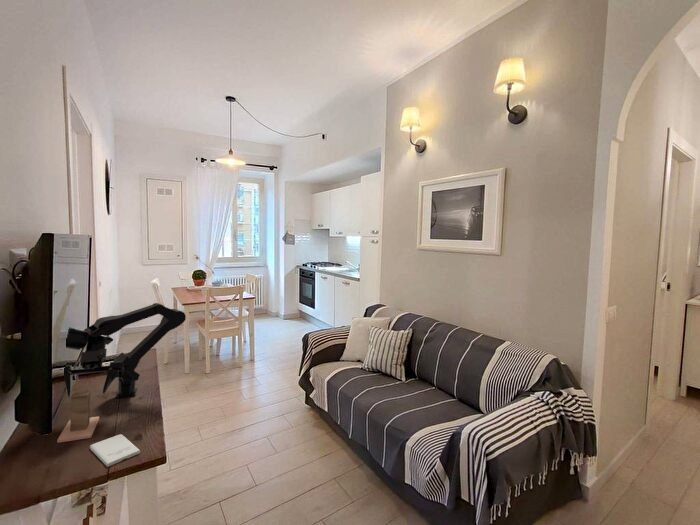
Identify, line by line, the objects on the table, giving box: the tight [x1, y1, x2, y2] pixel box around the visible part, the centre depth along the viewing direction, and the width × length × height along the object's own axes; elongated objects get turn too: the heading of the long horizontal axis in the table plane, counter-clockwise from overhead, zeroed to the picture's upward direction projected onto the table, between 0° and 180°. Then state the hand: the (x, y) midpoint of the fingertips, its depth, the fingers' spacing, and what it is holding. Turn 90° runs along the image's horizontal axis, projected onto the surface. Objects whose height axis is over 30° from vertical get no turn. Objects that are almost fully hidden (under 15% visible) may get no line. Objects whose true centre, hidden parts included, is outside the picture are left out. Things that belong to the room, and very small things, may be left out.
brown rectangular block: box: [70, 389, 92, 432], centre depth 107 cm, size 4×4×11 cm
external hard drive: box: [89, 433, 141, 468], centre depth 98 cm, size 2×8×12 cm
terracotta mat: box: [56, 416, 100, 444], centre depth 107 cm, size 12×8×1 cm, turn 26°
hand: (86, 394), depth 112 cm, fingers open, 9 cm apart
